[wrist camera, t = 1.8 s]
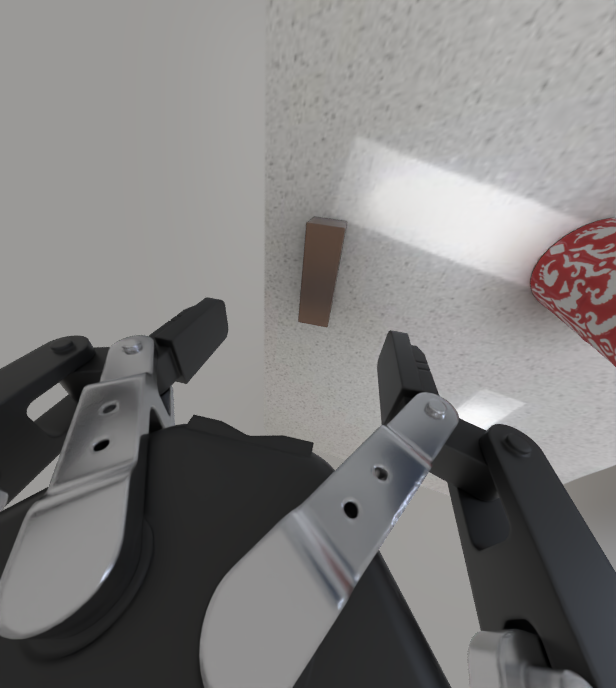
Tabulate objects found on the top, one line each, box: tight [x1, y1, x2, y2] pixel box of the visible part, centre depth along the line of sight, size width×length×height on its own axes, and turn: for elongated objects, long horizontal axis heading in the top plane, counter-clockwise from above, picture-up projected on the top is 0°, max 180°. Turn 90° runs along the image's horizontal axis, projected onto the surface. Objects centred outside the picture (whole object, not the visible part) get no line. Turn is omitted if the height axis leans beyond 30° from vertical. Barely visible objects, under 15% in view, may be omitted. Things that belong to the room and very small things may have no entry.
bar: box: [298, 217, 347, 327], centre depth 21 cm, size 9×3×3 cm, turn 174°
